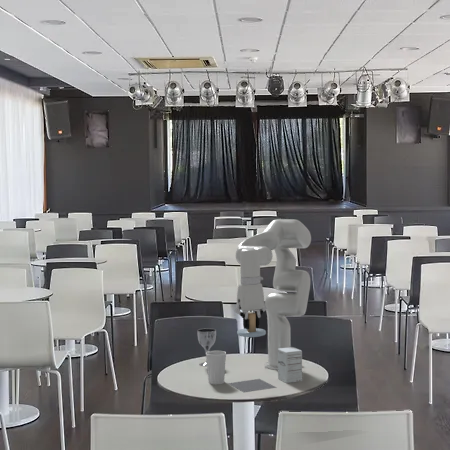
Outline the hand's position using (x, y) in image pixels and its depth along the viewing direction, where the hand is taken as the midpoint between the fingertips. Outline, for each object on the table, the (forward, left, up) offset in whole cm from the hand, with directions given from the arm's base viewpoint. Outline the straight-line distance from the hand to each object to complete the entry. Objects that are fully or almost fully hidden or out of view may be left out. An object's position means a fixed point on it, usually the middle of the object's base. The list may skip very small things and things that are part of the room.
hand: (251, 327), depth 300 cm
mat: (0, 0, -23) cm, 23 cm away
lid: (0, 0, -2) cm, 2 cm away
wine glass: (+1, -40, -23) cm, 46 cm away
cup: (+10, -11, -23) cm, 27 cm away
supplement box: (-17, 0, -23) cm, 29 cm away
